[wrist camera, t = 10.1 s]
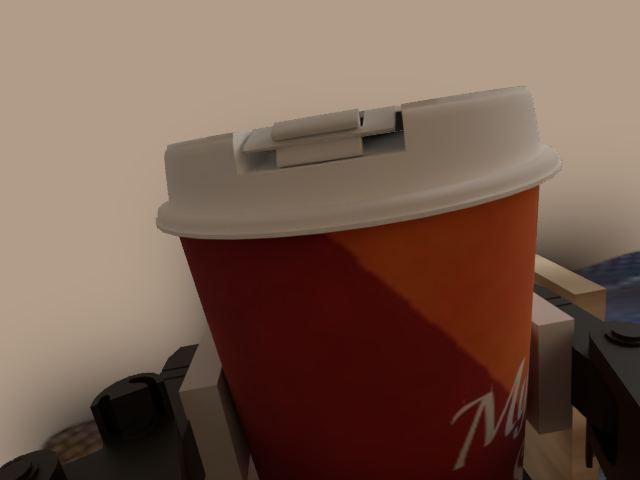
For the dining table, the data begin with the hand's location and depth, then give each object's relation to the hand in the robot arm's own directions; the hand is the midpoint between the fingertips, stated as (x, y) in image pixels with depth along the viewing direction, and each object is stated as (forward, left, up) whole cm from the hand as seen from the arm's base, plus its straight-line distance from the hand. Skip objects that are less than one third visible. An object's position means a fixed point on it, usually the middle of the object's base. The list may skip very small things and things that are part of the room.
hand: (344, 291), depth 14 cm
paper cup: (-4, +3, -8) cm, 10 cm away
